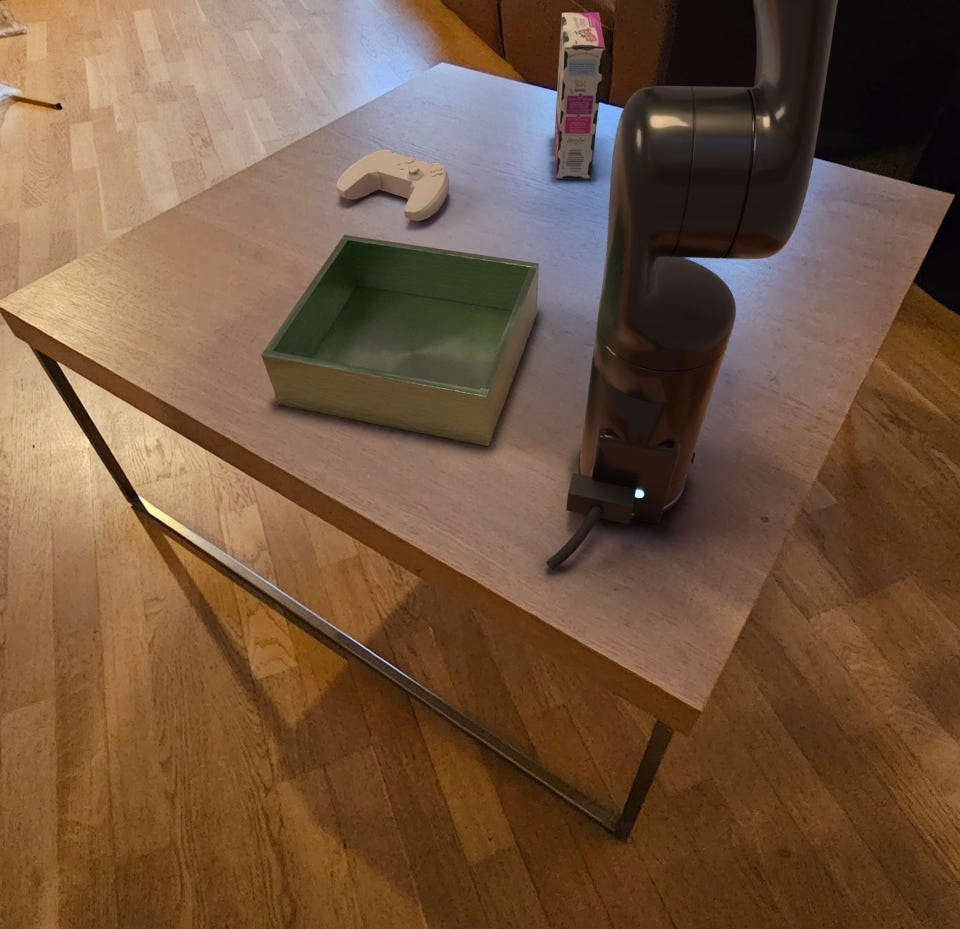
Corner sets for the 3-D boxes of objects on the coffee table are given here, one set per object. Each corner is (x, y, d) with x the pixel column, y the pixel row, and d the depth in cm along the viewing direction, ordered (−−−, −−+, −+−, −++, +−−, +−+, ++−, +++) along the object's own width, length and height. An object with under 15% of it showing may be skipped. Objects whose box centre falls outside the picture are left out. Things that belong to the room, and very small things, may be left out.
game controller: (324, 182, 91) (367, 132, 95) (335, 209, 95) (376, 160, 99) (419, 211, 86) (461, 157, 90) (427, 239, 90) (466, 186, 94)
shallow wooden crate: (488, 446, 67) (486, 397, 62) (278, 404, 71) (260, 354, 66) (537, 314, 79) (539, 263, 74) (354, 284, 83) (343, 234, 78)
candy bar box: (593, 180, 95) (606, 46, 83) (555, 180, 96) (562, 47, 83) (588, 138, 102) (600, 9, 90) (553, 138, 103) (559, 10, 90)
